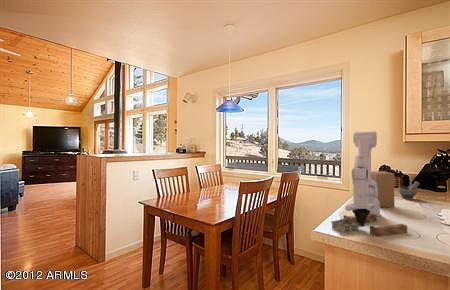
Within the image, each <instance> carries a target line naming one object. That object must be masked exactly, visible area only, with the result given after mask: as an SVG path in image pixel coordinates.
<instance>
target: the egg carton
mask: <svg viewBox="0 0 450 290" xmlns="http://www.w3.org/2000/svg"><path fill="white" fill-rule="evenodd" d="M330 223H331V228H332V229H333V228H337V229H336V230H337V231H338V232H341V231H342V232H341V233H345V232H346V231H345V230H348V231H347V232H350V231H351V232H352V231H356V230H358V231H359V230H360V228H359V227H360V226H359V225H361V224H359V223H357V222H355V223H354V221H353V219H351V218H350V217H345V218H344V217H343V218H340V219H336V220H334V221H333V220H331V221H330Z"/></svg>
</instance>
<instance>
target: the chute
mask: <svg viewBox="0 0 450 290" xmlns="http://www.w3.org/2000/svg"><path fill="white" fill-rule="evenodd" d="M345 217H350V218H351V219H353V221H354V223H355V222H357V220H356V217H355V215H349V216H348V215H346V214H344V215H343V218H345ZM377 220H378V216H377V215H375V214H369V215H368V216H367V218H366V221H365V223H373V222H377ZM407 233H408V225H407V224H404V223H397V224H390V225H381V226H373V225H369V236H371V235H372V236H371V237H373V236H377V237H383V236H384V235H385V236H390V235H391V236H392V235H398V234H399V235H400V234H407Z"/></svg>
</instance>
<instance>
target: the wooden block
mask: <svg viewBox="0 0 450 290" xmlns="http://www.w3.org/2000/svg"><path fill="white" fill-rule="evenodd" d="M371 179H372V180H373V181H375V182H376V183H377V187H378V197H377V199H378V200H379V202H380V208H395V173H393V172H388V171H379V170H378V171H376V170H375V171H373V170H371ZM371 186H372V185H371Z"/></svg>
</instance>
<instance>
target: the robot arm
mask: <svg viewBox="0 0 450 290" xmlns="http://www.w3.org/2000/svg"><path fill="white" fill-rule="evenodd" d="M377 133H378V132H377V131H375V130H374V131H354V133H353V139H352V140H353V143H354V146H355V147H356V148H357V151H358V154H356V156H355V158H354V165H353V168H352V169H351V179H352V180H351V181H352V185H353V187H352V188H353V189H352V191H353V194H352V195H353V196H352V198H353V199H352V201H353V202H352V203H351V204H348V205H345V208H344V209H345V211H347V212H352V213H353V214H354V215H353V216H355V217H356V220H357V223H359V224H361V225H359V227H361V228H362V227H365V221H366V218H367V216H368V215H369V214H375V215H377V217H379V216H382V214H381V209H380V208H381V207H380V202H379V200H378V199H377V197H378V187H377V183H376V182H375V181H373V180H372V179H371V171H372V150H373V148H376V147H377V145H378V144H377V142H378V141H377V140H378V135H377ZM371 185H372V186H371Z"/></svg>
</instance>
